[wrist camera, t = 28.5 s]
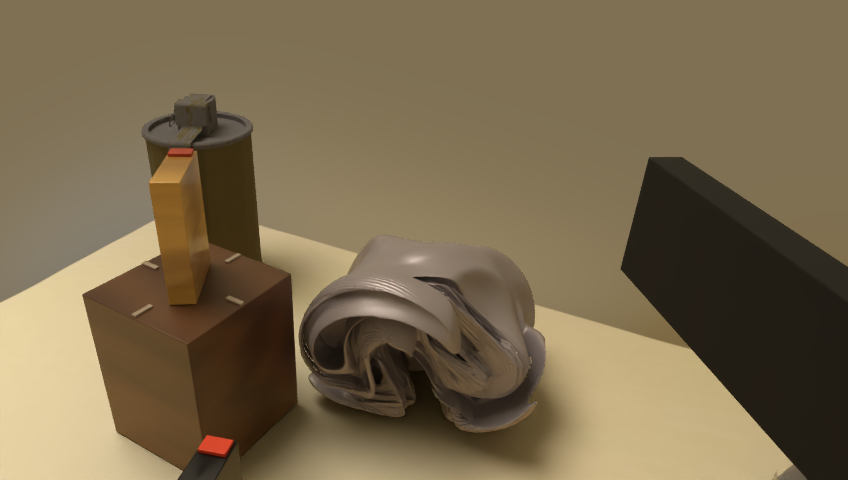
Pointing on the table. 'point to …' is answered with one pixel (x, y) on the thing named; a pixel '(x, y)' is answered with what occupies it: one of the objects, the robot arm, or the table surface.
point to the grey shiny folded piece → (427, 333)
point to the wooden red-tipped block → (181, 225)
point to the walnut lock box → (196, 354)
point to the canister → (214, 167)
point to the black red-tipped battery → (214, 461)
